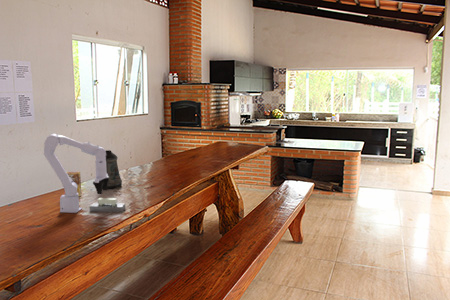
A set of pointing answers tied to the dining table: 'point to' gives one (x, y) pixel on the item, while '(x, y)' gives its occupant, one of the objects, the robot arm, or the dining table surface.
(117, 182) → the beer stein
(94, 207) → the grey block with holes
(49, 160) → the robot arm
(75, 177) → the candy box
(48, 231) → the dining table surface
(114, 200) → the notched cream block
